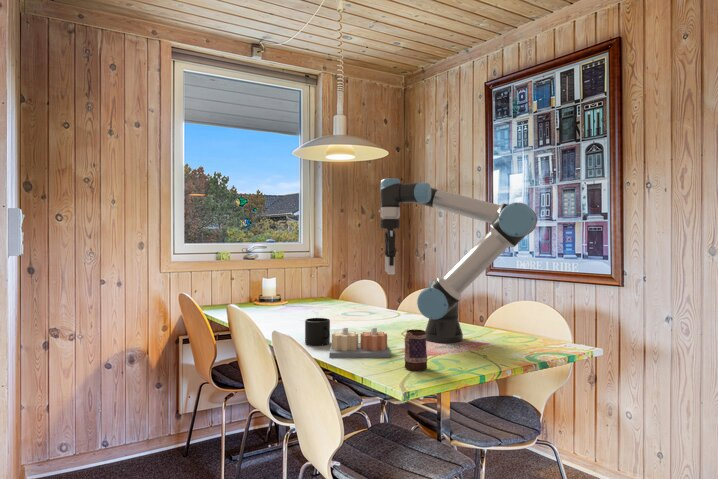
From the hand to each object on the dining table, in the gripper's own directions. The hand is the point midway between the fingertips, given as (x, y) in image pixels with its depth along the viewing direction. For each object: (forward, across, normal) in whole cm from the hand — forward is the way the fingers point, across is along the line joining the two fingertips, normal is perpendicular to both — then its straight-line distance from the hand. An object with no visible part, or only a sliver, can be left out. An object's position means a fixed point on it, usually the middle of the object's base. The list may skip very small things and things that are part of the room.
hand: (389, 273), depth 195 cm
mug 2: (+27, +41, +4) cm, 49 cm away
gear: (+25, +17, -7) cm, 31 cm away
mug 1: (+27, +4, -27) cm, 38 cm away
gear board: (+27, +18, -12) cm, 34 cm away
